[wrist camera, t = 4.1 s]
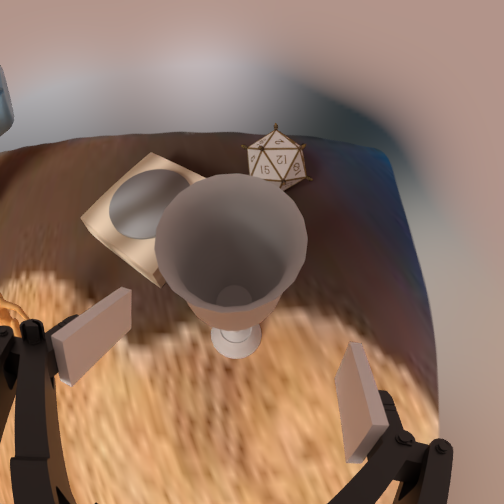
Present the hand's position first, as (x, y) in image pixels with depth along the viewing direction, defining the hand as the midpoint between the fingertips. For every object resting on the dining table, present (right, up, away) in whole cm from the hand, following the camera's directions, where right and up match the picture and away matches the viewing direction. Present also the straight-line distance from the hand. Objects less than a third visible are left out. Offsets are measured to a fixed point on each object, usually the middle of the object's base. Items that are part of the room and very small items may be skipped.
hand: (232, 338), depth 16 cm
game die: (+4, +14, +23) cm, 27 cm away
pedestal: (-11, +9, +19) cm, 23 cm away
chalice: (0, -3, +13) cm, 13 cm away
